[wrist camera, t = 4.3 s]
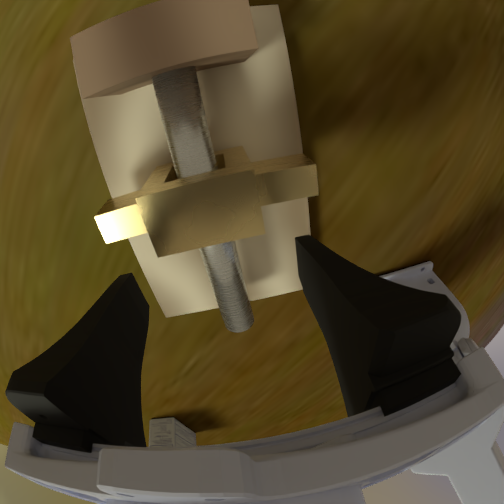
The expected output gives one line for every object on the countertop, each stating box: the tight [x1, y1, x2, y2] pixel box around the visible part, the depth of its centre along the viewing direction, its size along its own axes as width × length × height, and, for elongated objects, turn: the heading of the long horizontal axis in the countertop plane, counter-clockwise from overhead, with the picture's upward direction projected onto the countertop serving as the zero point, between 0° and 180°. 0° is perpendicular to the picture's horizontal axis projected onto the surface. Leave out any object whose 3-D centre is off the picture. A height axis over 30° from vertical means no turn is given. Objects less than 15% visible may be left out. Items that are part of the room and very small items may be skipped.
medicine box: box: [149, 417, 196, 447], centre depth 33 cm, size 8×4×9 cm, turn 15°
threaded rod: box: [152, 66, 254, 332], centre depth 14 cm, size 2×16×2 cm, turn 10°
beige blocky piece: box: [70, 0, 311, 317], centre depth 15 cm, size 12×20×7 cm, turn 10°
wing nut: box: [95, 146, 319, 258], centre depth 14 cm, size 11×3×5 cm, turn 100°
